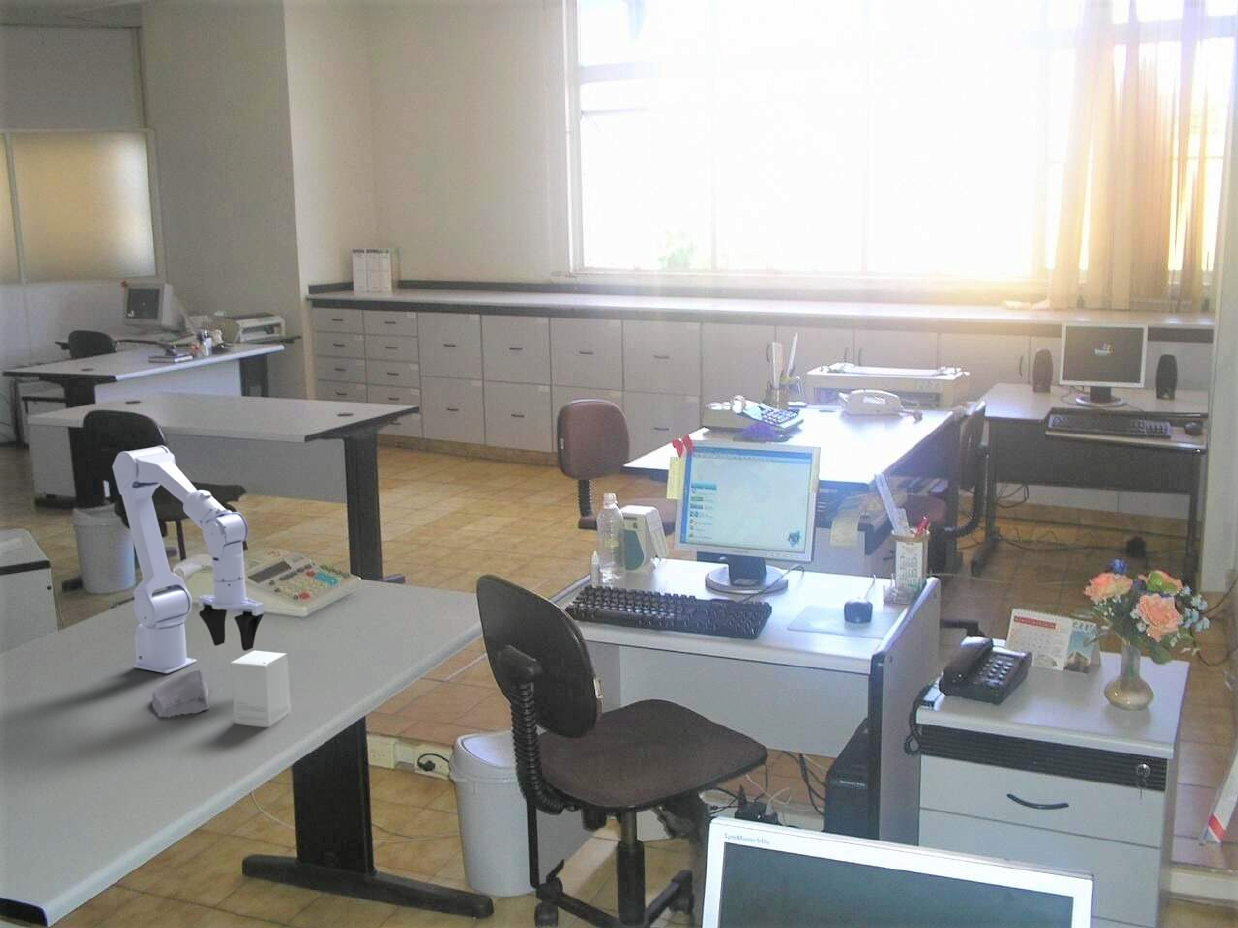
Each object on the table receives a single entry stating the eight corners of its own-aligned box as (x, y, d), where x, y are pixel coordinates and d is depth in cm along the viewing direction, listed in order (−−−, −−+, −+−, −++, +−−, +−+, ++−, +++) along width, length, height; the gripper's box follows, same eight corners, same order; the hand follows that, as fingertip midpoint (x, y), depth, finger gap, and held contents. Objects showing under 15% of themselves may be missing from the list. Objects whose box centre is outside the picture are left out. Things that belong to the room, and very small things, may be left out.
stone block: (150, 674, 235) (206, 667, 238) (153, 698, 237) (209, 690, 240) (148, 702, 225) (207, 694, 227) (151, 727, 226) (209, 718, 229)
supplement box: (293, 719, 228) (289, 652, 226) (269, 734, 221) (264, 665, 219) (258, 715, 230) (254, 649, 228) (233, 729, 224) (229, 661, 221)
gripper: (184, 578, 238) (189, 647, 240) (242, 586, 231) (247, 657, 233) (212, 569, 244) (217, 637, 246) (269, 577, 237) (273, 646, 240)
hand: (233, 646), depth 240 cm, fingers open, 7 cm apart
